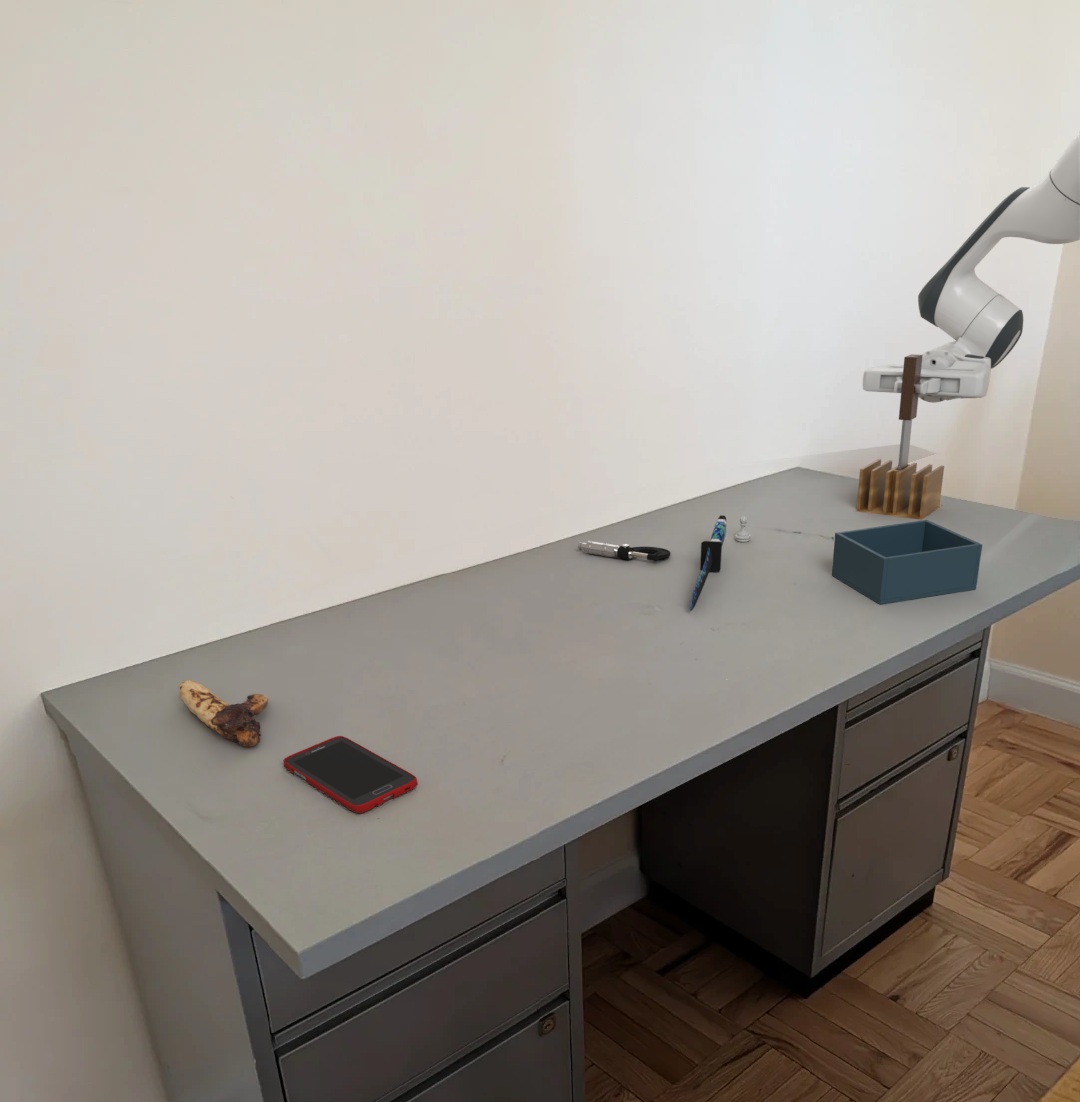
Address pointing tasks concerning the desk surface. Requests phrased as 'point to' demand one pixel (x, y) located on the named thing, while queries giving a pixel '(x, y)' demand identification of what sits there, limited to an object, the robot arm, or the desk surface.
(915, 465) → the dish rack
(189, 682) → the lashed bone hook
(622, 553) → the micrometer
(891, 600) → the open box
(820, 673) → the desk surface
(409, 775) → the cell phone
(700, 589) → the knife
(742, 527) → the pawn
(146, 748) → the desk surface
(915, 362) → the kitchen knife
